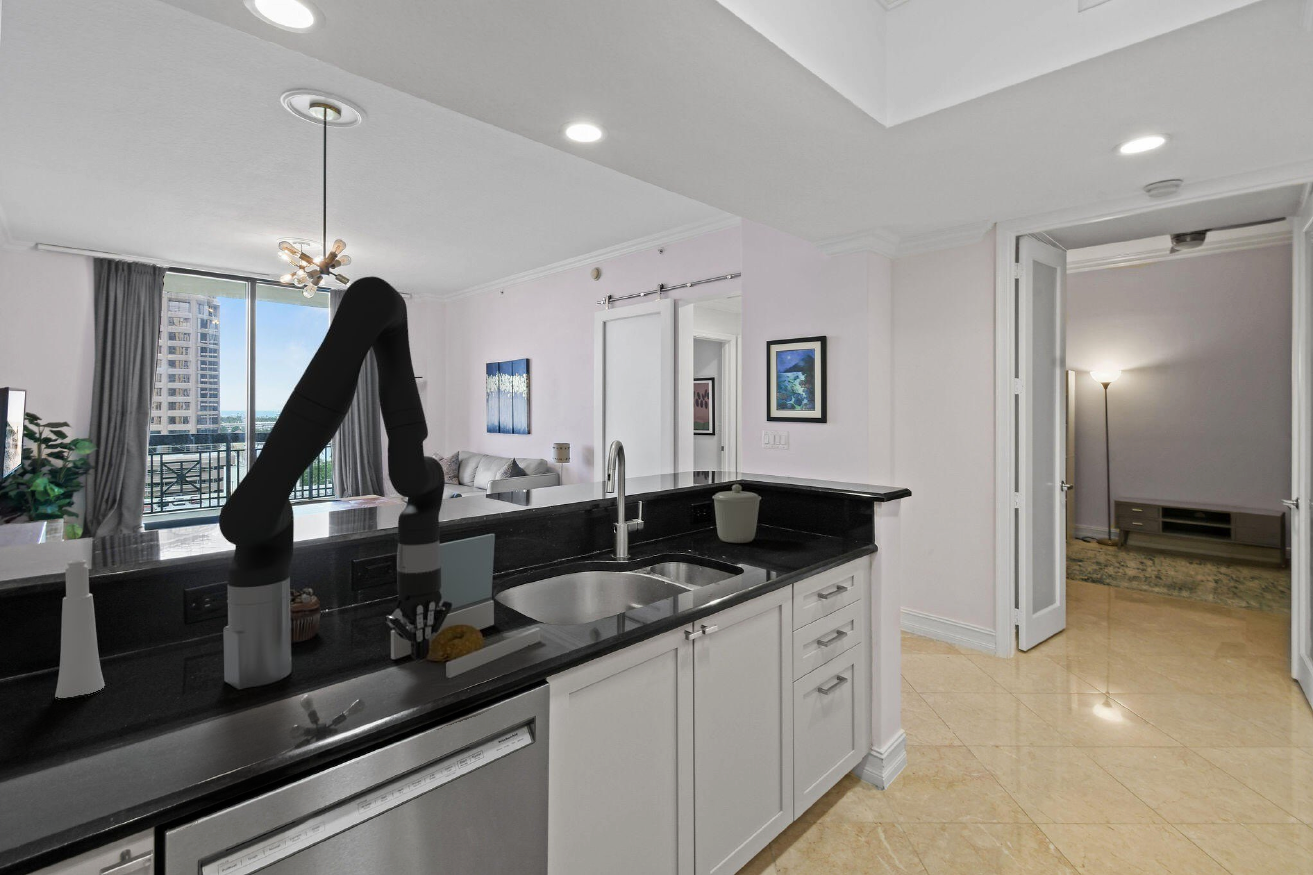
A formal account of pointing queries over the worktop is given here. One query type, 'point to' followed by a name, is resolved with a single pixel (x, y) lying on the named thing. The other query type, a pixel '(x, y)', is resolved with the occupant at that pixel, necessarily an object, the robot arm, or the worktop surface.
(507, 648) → the white channel
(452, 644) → the bagel
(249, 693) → the worktop surface
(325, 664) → the worktop surface
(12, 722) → the worktop surface
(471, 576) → the cover
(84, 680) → the cosmetic bottle
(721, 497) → the canister
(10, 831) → the worktop surface
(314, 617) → the cupcake
